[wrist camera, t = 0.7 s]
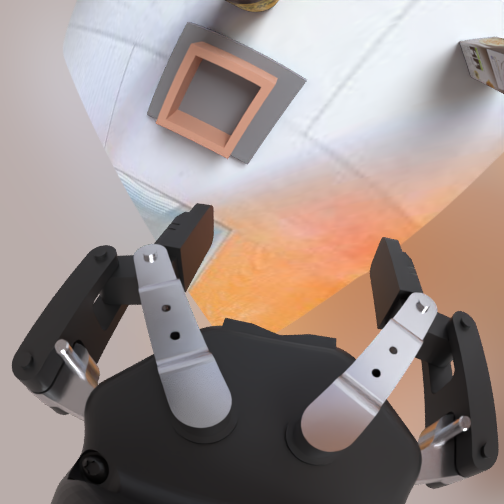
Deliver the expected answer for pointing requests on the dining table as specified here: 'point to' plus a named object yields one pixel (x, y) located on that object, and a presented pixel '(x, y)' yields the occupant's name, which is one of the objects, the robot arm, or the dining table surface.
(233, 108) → the planter box on base
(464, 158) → the dining table surface
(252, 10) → the sauce bottle
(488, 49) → the coffee box
